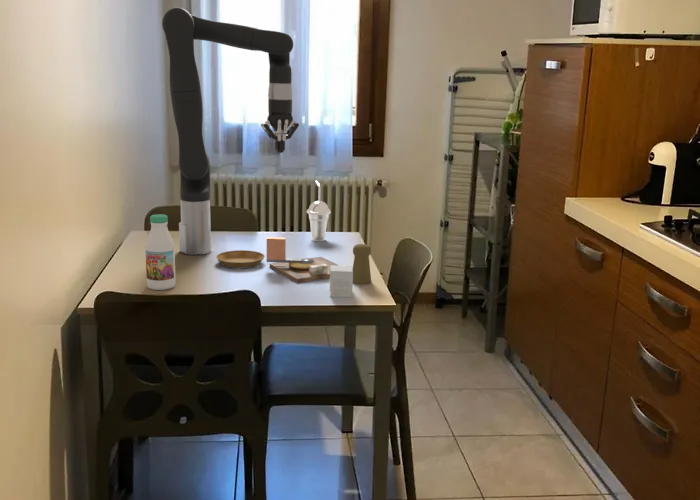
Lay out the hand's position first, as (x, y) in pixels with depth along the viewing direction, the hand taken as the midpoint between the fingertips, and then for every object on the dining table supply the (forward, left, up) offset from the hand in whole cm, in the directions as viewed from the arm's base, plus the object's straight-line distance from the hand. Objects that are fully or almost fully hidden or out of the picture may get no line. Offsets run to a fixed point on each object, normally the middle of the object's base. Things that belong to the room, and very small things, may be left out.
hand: (280, 152), depth 247 cm
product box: (-7, -51, -32) cm, 61 cm away
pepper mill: (+4, -44, -32) cm, 55 cm away
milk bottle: (-48, -23, -32) cm, 62 cm away
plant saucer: (-19, -11, -32) cm, 39 cm away
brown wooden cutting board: (-4, -28, -32) cm, 43 cm away
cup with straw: (+18, +5, -32) cm, 37 cm away
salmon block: (-9, -25, -30) cm, 41 cm away
